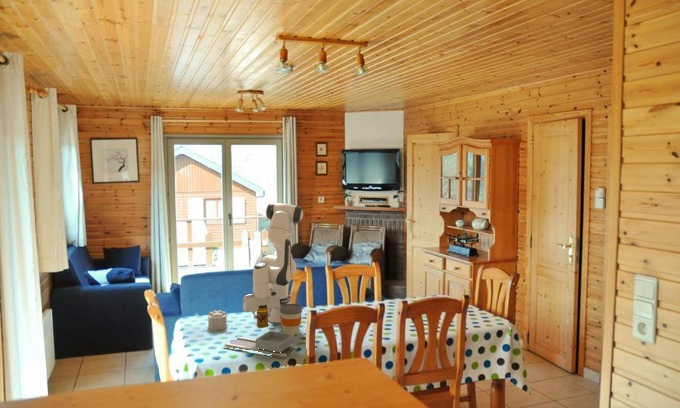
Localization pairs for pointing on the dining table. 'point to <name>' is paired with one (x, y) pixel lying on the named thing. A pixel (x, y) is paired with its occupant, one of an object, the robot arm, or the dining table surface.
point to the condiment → (262, 317)
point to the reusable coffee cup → (291, 318)
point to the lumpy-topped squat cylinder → (217, 320)
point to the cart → (275, 341)
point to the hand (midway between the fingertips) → (262, 317)
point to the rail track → (251, 345)
